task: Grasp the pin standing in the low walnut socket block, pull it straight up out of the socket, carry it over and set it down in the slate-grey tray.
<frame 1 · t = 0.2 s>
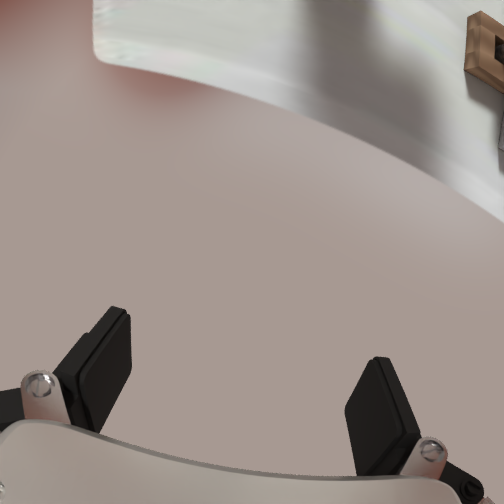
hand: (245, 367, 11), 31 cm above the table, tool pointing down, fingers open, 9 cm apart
socket block: (490, 57, 30), on the table
pin: (490, 57, 30), resting in socket block
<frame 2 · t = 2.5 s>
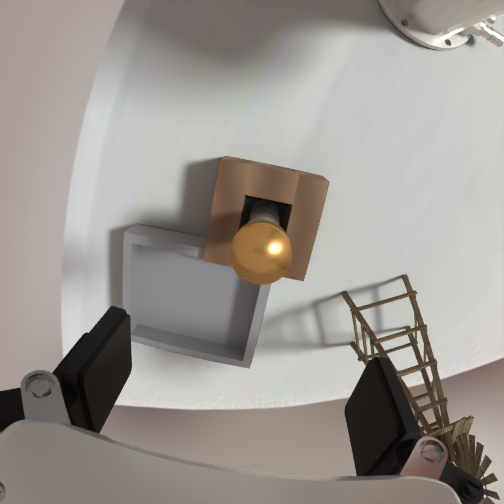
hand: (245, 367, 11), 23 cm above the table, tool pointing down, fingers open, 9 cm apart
tray: (195, 292, 37), on the table
socket block: (265, 212, 33), on the table
miniature windmill: (377, 310, 37), on the table
pin: (265, 212, 33), resting in socket block
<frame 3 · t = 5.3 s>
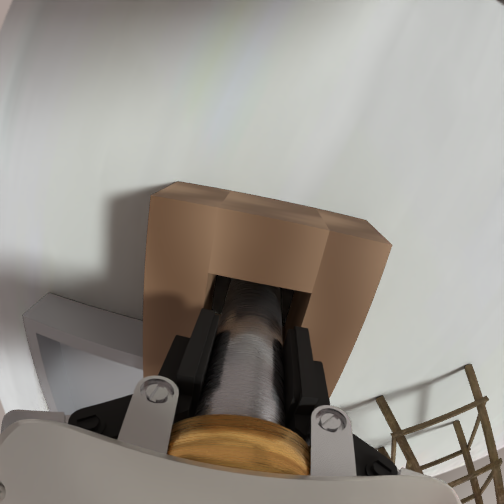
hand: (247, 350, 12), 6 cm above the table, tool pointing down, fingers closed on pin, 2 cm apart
tray: (149, 395, 21), on the table
socket block: (254, 286, 18), on the table
miniature windmill: (421, 410, 21), on the table
pin: (254, 287, 18), resting in socket block, touching gripper
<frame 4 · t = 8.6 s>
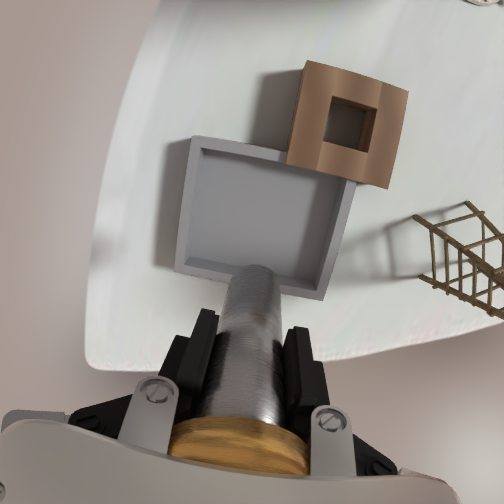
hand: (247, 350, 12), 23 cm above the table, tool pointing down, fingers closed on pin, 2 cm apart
tray: (262, 214, 34), on the table
socket block: (341, 125, 30), on the table
miniature windmill: (443, 239, 33), on the table
pin: (254, 287, 18), point 17 cm above the table, touching gripper
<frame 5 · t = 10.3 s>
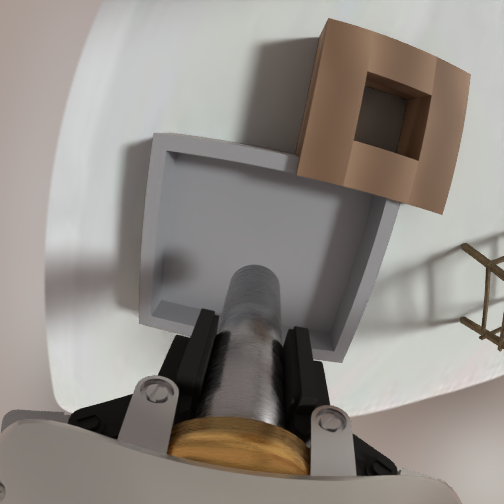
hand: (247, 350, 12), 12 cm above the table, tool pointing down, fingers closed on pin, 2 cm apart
tray: (261, 245, 24), on the table
socket block: (374, 118, 20), on the table
miniature windmill: (492, 272, 23), on the table
pin: (254, 287, 18), point 6 cm above the table, touching gripper
when the fingers open (7 cm above the table, at t = 12.0 s): pin stays where it is, resting on tray.
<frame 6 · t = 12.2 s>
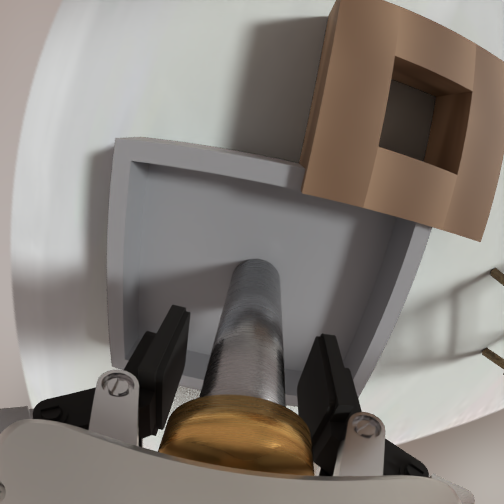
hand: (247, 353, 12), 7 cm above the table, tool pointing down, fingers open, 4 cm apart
tray: (255, 276, 19), on the table
socket block: (398, 118, 15), on the table
pin: (255, 281, 18), point 1 cm above the table, touching tray
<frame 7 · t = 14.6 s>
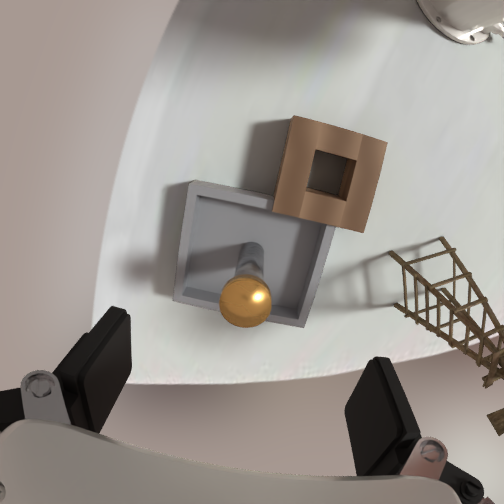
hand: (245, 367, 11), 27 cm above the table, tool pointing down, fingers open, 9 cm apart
tray: (252, 251, 38), on the table
socket block: (324, 171, 34), on the table
miniature windmill: (417, 271, 38), on the table
pin: (252, 253, 37), point 1 cm above the table, touching tray
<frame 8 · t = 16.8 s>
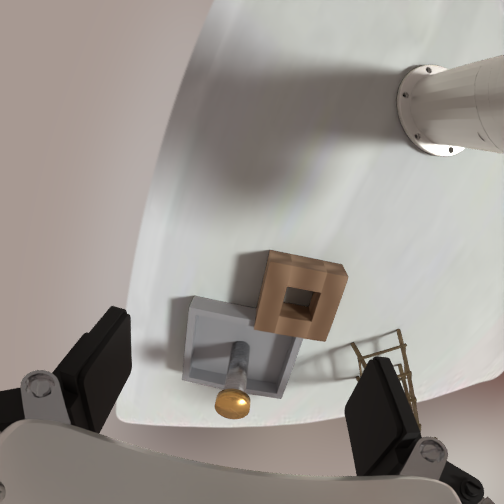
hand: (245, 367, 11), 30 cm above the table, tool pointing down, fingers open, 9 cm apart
tray: (241, 345, 47), on the table
socket block: (297, 290, 44), on the table
miniature windmill: (376, 354, 47), on the table
pin: (240, 348, 47), point 1 cm above the table, touching tray
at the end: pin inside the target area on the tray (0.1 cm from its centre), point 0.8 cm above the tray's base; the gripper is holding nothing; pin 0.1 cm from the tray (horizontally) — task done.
